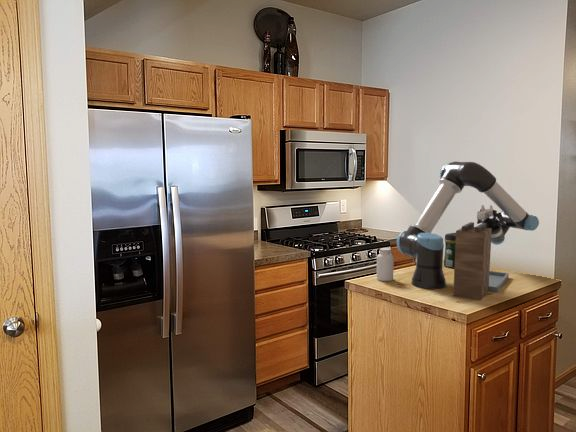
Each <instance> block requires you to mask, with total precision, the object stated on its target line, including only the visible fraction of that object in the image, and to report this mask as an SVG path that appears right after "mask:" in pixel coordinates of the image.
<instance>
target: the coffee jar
mask: <svg viewBox="0 0 576 432" xmlns="http://www.w3.org/2000/svg"><path fill="white" fill-rule="evenodd" d="M444 246H445V248H444V256H443V266H444V267H446V268H448V269H449V268H451V269H454V268H455V246H456V232H450V233H446V234H445V235H444Z"/></svg>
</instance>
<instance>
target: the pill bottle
mask: <svg viewBox="0 0 576 432" xmlns="http://www.w3.org/2000/svg"><path fill="white" fill-rule="evenodd" d="M394 261H395V260H394V255H393V254H392V248H387V247H382V248H379V254H377V256H376V280H378V281H379V282H380V281H382V282H391V281H393V280H394V267H395V266H394V264H395V263H394Z"/></svg>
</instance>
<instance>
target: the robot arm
mask: <svg viewBox="0 0 576 432" xmlns="http://www.w3.org/2000/svg"><path fill="white" fill-rule="evenodd" d="M439 178H440V179H439V180H438V182H439V186H438V188H437V189H436V191H435V192H434V194H433V196H432V197H431V199H430V200H429V201H428V203H427V204H426V206H425V208H424V210H423V211H422V212H421V214H420V215H419V217H418V219H417V221H416V222H415V223H414V224H411V225H409V226H408V228H407V230H403V231H401V232H400V233H399V234H398V236H397V238H396V247H397V250H398V251H399V253H401V254H403V255H405V256H406V257H411V258H414V259H416V260H415V264H416V265H415V269H414V272H413V274H412V277H411V285H413V286H415V287H417V288H421V289H429V290H430V289H431V290H433V289H435V290H439V289H444V288H446V286H447V284H446V283H447V281H446V278H445V273H444V270H443V266H444V249H445V248H444V246H445V243H444V238H443V237H442V236H441V235H439V234H436V233H432V232H433V231H434V228H435V227H436V225H437V224H438V222H439V220H441V217H442V216H443V214H444V213H445V211H446V210H447V208H448V206H449V205H450V203H451V202H452V200H453V199H454V197H455V195H457V194H460V193H461V192H462V190H463V189H464V187H471V188H474V189H475V190H477V191H478V192H480V193H483V194H484V195H486V197H488V198H489V200H490V201H491V202H493V203H494V204H495V205H496V207H497V208H499V209H500V210H501V211H500V212H498V210H496V209H494V207H493V205H491V204H490V205H489V209H490V210H489V211H490V214H491V217H492V218H490V217H489V218H487V219H485V220H479V219H476V224H478V225H480V224H482V223H487V225H486V228H492V234H491V244H493V245H501V244H503V243H504V242H505V239H506V238H505V237H506V235H507V232H508V231H509V230H510V228H513V229H518V230H524V231H535V230H536V229H538V227H539V225H540V220H539V218H538V217H537V216H535V215H533V214H529V213H528V212H527V211H526V210H525V209H524V208H523V207H522V206H521V205H520V204H519V203H518V202H517V200H515V199H514V198H513V197H512V196H511V195H510V194H509V193H508V192H507V191H506V190H505V189H504V187H502V186H501V185H500V184H499V183H498V182H497V177H496V176H495V175H493V173H491V172H490V171H489V170H488V169H487V168H486V167H485V166H482V165H481V164H480V163H477V162H474V161H461V162H460V161H451V162H450V161H449V162H447V163H446V164H445V165H443V166H442V168H441V170H440V173H439ZM485 209H486V208H485V205H483V204H482V205H481V208H480V210H479V211H477V213H478V212H480V211H482V210H485Z"/></svg>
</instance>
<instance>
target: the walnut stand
mask: <svg viewBox="0 0 576 432" xmlns="http://www.w3.org/2000/svg"><path fill="white" fill-rule="evenodd" d="M486 225H487V223H480V224H478V225H477V226H475V221H473V222H472V221H470V222H468V223H466V224H464V225H462V226H461V228H459V229H457V230H456V231H455V233H456V246H455V268H453V269H454V273H453V291H452V292H453V293H452V294H453V295H452V296H453V297H456V298H462V299H468V300H474V301H482V300H483V298H484V297H486V295H487V294H488V293H489V291H488V290H489V271H491V270H490V268H491V266H490V265H491V253H492V252H491V251H492V250H491V249H492V248H491V247H492V243H491V234H492V228H486Z"/></svg>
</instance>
